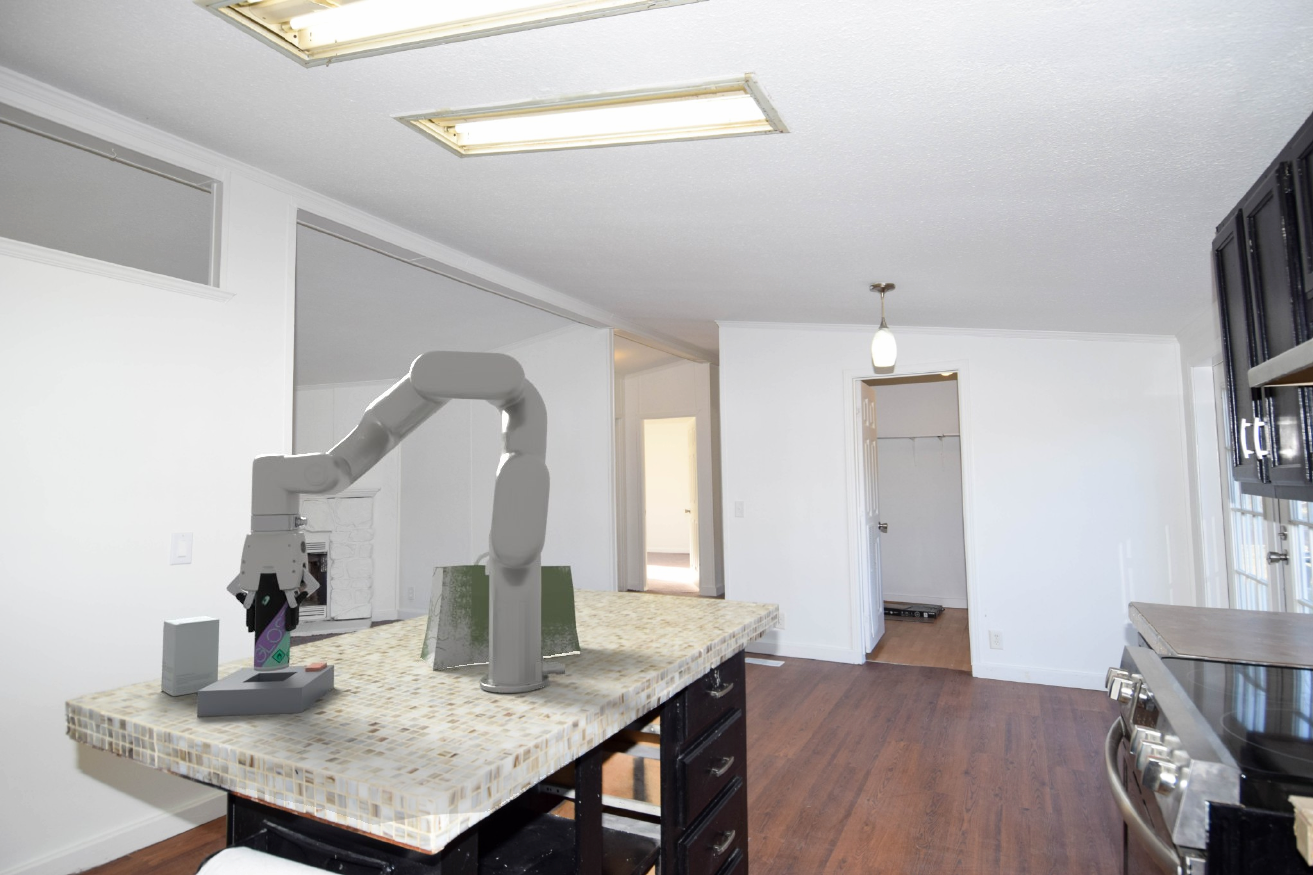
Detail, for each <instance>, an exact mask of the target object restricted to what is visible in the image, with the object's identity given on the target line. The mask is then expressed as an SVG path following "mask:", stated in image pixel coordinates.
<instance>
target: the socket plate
mask: <svg viewBox="0 0 1313 875" xmlns="http://www.w3.org/2000/svg"><path fill="white" fill-rule="evenodd" d="M334 686H335V665H334V664H329V665H328V663H327V661H326V662H325V661H324V662H312V663H311V664H309V665H294V666H293V665H289V667H288V668H285V669H281V670H276V671H266V672H260V671H255V670H254V666H252V667H242V668H239V669H237V670H236V671H234V672H232V673H230V674H227V675H226V676H224V677H223V678H221V679H218V681H216V682H214V683H212V684H211V685H209V686H207V687H205V688H203V689H201V690H199V691H198V692H197V708H196V710H197V712H196V716H197V717H220V716H221V717H222V716H223V717H224V716H243V715H244V716H246V715H271V714H275V715H276V714H279V715H280V714H300V713H303V712H304V711H306V709H308V708H309V707H311V706H312V705H313V704H314V703H315V702H317V701H318V700H319V699H320V698H322V697H323V696H325V694H327V693H328V692H330V691H331V690H332V689H333V688H335V687H334Z"/></svg>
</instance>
